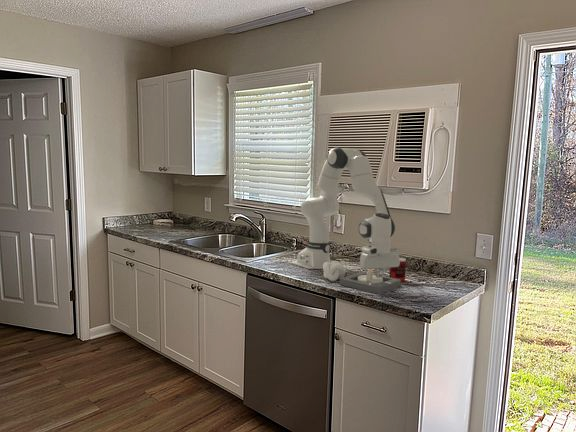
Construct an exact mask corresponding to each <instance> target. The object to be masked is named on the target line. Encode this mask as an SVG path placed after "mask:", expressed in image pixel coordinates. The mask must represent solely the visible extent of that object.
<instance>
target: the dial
mask: <svg viewBox="0 0 576 432" xmlns="http://www.w3.org/2000/svg"><path fill="white" fill-rule="evenodd" d="M366 272H367V275H361V276H358V281H360V282H364V283H371V284H373V285H378V284H380V283H383V278H382V277H378V278H377V277H376V276H375V275H373V274H374V269H367V271H366Z"/></svg>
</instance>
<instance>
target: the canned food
mask: <svg viewBox="0 0 576 432" xmlns="http://www.w3.org/2000/svg"><path fill="white" fill-rule="evenodd" d="M399 258H400V265H399V266H398V267H390V268H389V272H388V273H389V274H388V277H391V278H396V279H400V280H401V283H403V282H405V281H406V271H407V269H406V267H407V259H406V258H404V257H399Z"/></svg>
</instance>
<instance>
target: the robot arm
mask: <svg viewBox="0 0 576 432" xmlns="http://www.w3.org/2000/svg"><path fill="white" fill-rule="evenodd" d="M326 157H327V158H326V159H325V162H324V164H323V166H322V169H321V171H320V175H319V177H318V181H317V188H318V189H319V191H320V192H319V197H309V198H307V199H304V200H303V201H302V202H301V204H300V210H301V211H300V212H301V214H302V215H303V216H304V218H306V221H307V223H308V227H309V240H308V241H305V245H306V247H305V248H303V249H302V250H301V251H299V252H298V254H297V256H296V260H294V261H292V265H295V266H299V267H302V268H304V269H309V270H315V269H317V270H319V269H320V270H323V264H324V263H325V262H329V263H330V262H331V260H330V249H331V242H330V227H329V226H328V225H327V224H326V222H325V218H326V217H332V216H334V215H336V214H338V213H339V211H340V203H339V201H338V199H337V192H338V188H339V184H340V181H341V178H342V174H343V171H348V172H349V175H350V176H349V177H350V183H351V188H352V189H353V191H354V192H355V193H356V194H358V195H359V196H362V197H364V198H366V199H368V200H370V201H372V203H373V204H374V206H375V210H376V213H374V214H373V216H371V217H369V218H363V219H362V220H361V221H360V222H359V224H358V234H359V235H360V236H361V237H362V238H364V239H366V240H367V239H370V240H371V242H370V243H369V244H367V245H365V246H363V247H361V254H360V257H359V267H360V269H363V270H369V269H371V270H373V272H374V274H376V277H377V278H378V277H383V276H384V273H385V272H386V269H387V268H388V269H390V267H398V266H399V265H400V258H401V257H400V249H399V248H398V247H392V246H391V244H392V241H391V237H392V236H394V234H395V231H396V225H395V222H394V220H393V218H392V216H391V213H390V211H389V208H388V205H387V201H386V198H385V195H384V193H383V190H382V189H381V187H379V186H378V184H377V182H376V181H375V178H374V174H373V169H372V166H371V163H370V160H369V158H368V157H367V155H366V153H365V152H364V151H362V150H360V149H354V148H348V147H347V148H346V147H344V148H343V147H334V148H331V149H330V150H329V151H328V153H327V155H326Z"/></svg>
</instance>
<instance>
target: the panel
mask: <svg viewBox="0 0 576 432" xmlns="http://www.w3.org/2000/svg"><path fill="white" fill-rule="evenodd" d="M367 272H368V271H359V272H356V273H352V274H350V275H346V276H344V277H343V278H340V279H339V283H338V284H339V285H340V286H343V287H349V288H351V289H356V288H357V290H360V289H361V291H364V290H365V291H364V292H369V293H373V294H376V295H382V294H384V293H386V292H388V291H391V290H393V289H395V288H398V287H400V286H401V283H402V282H401V280H400V279H396V278H391V277H389V276H386V275H383V277H382V278H383V283H380V284H378V285H373V284H371V283H364V282H360V281H358V276H361V275H367ZM373 275H375V276H376V273H373ZM381 293H382V294H381Z"/></svg>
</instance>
